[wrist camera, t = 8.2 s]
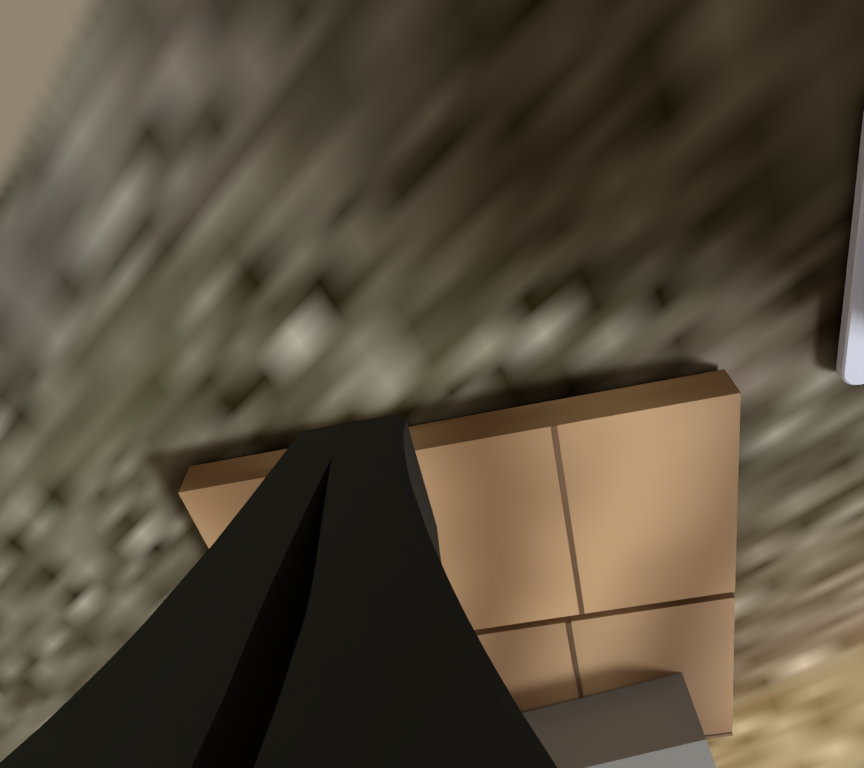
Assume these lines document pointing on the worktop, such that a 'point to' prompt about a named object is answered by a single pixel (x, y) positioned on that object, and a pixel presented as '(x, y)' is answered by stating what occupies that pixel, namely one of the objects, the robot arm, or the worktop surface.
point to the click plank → (562, 499)
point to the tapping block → (625, 728)
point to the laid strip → (623, 655)
